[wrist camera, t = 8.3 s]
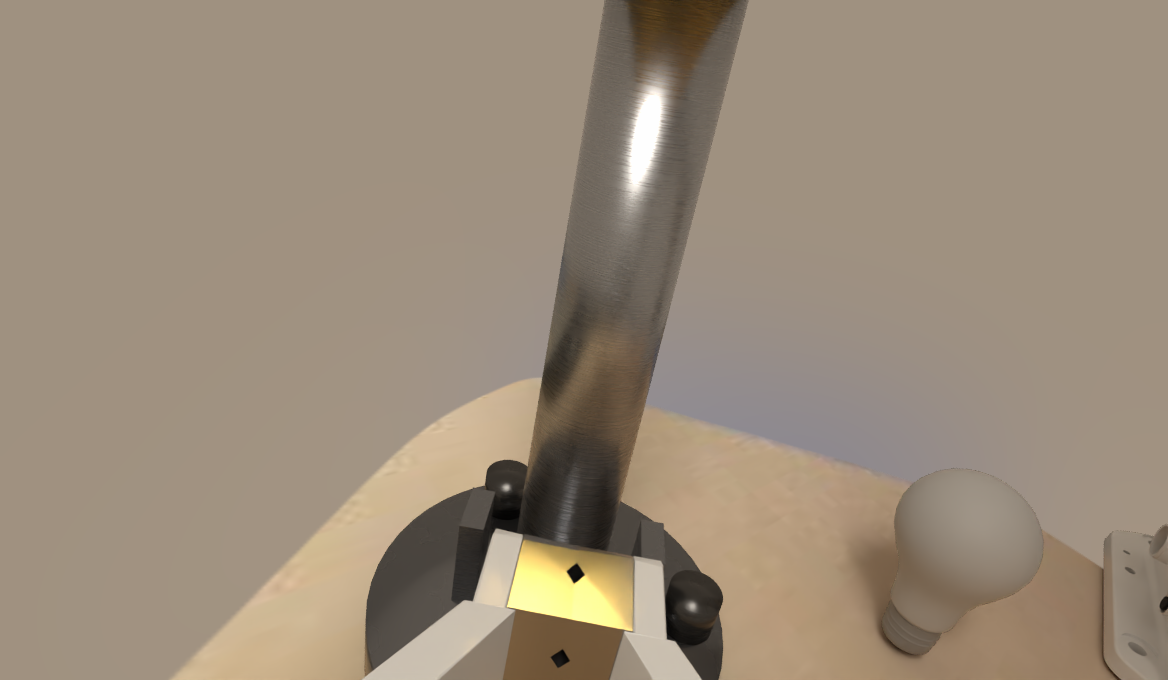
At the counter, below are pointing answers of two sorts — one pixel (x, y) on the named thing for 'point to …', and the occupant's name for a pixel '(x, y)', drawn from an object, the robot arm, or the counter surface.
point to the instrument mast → (623, 252)
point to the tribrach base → (458, 551)
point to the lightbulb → (957, 553)
